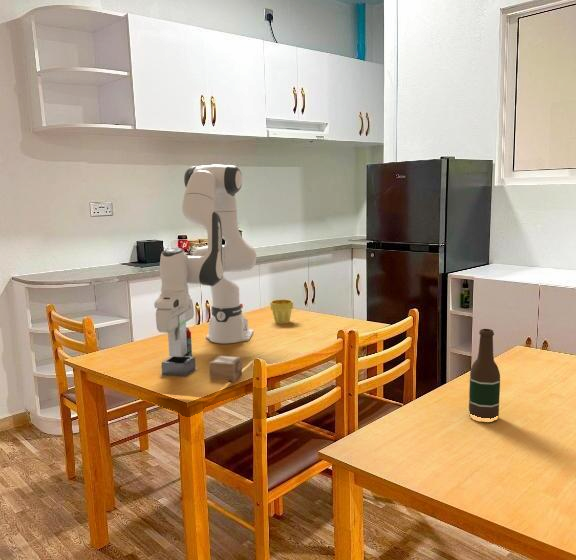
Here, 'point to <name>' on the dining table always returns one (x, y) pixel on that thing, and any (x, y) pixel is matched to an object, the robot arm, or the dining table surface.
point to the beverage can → (188, 343)
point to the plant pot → (281, 310)
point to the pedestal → (226, 368)
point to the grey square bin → (178, 366)
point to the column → (179, 339)
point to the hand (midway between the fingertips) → (177, 338)
